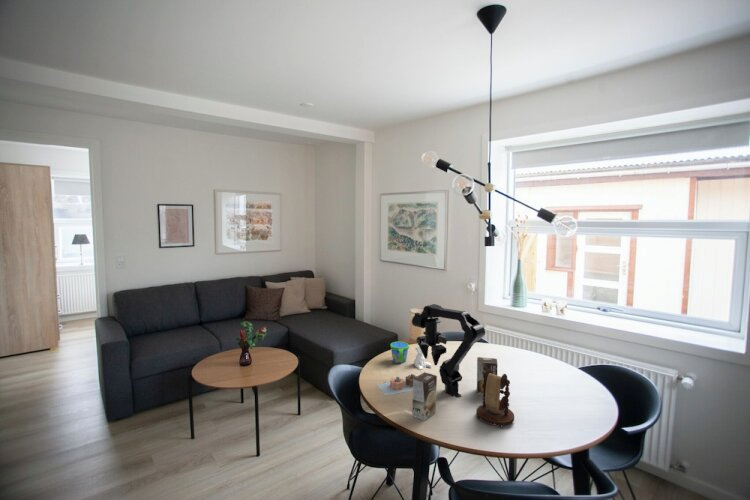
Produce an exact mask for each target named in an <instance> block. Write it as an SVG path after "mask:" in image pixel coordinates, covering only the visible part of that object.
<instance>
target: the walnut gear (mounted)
mask: <svg viewBox="0 0 750 500" xmlns="http://www.w3.org/2000/svg"><path fill="white" fill-rule="evenodd" d="M417 376H418V375H416V374H413V373H411V374H409V375H407V376H405V379H406V385H409V386H410V387H411V386H413V378H415V377H417Z"/></svg>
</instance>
